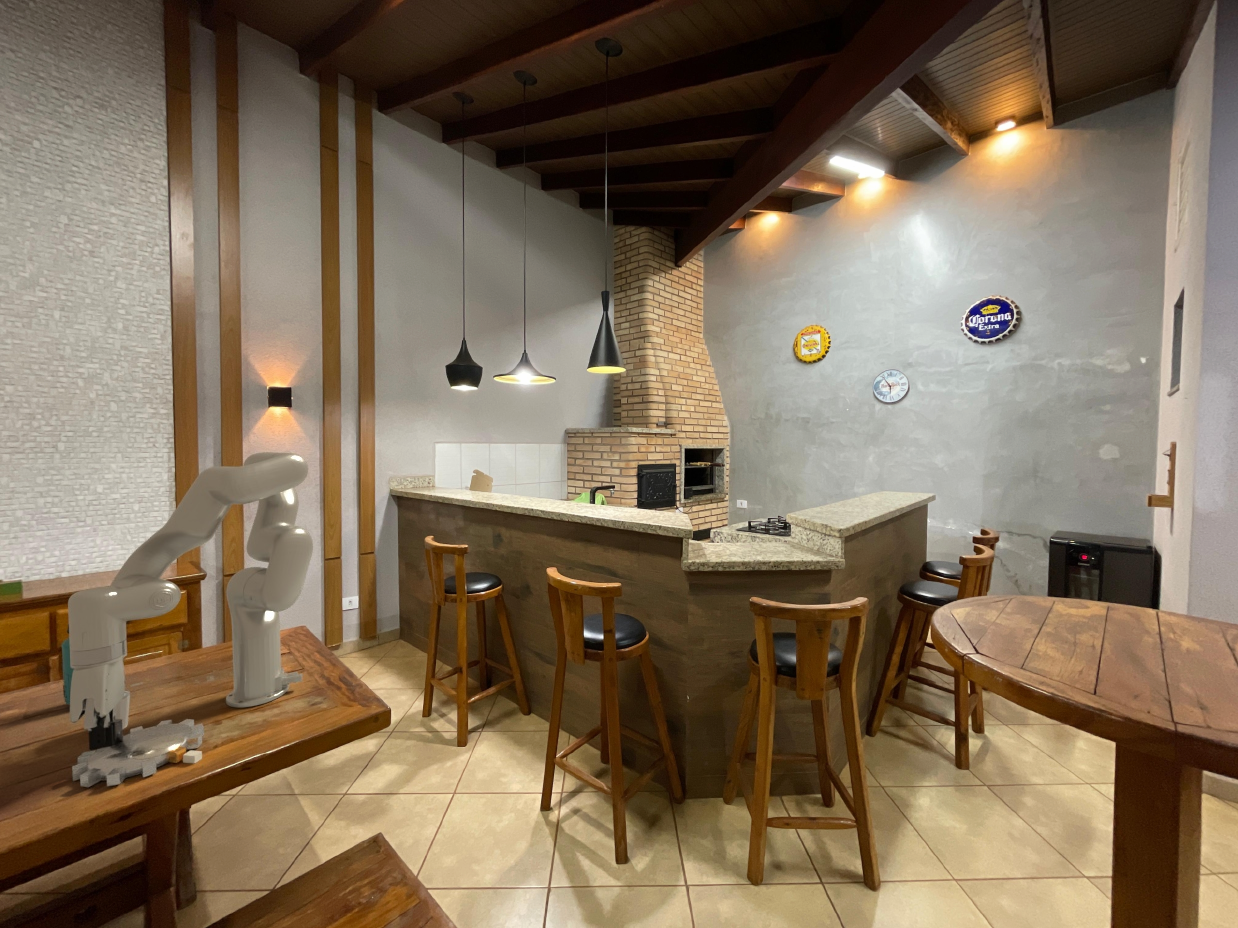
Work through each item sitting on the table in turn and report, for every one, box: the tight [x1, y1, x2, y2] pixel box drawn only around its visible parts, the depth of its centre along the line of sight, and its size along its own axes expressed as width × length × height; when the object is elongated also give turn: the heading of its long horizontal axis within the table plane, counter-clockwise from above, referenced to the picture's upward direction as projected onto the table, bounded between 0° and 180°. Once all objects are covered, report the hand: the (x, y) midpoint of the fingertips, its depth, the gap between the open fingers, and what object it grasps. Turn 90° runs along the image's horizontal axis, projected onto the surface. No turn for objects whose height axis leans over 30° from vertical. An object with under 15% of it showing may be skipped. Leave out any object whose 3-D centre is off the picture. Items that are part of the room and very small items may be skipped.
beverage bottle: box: [61, 623, 74, 706], centre depth 118 cm, size 6×7×20 cm
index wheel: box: [71, 718, 205, 788], centre depth 98 cm, size 19×19×6 cm
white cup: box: [115, 690, 131, 730], centre depth 108 cm, size 7×7×7 cm
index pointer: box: [182, 749, 203, 764], centre depth 97 cm, size 2×2×2 cm, turn 84°
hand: (102, 745), depth 96 cm, fingers closed
